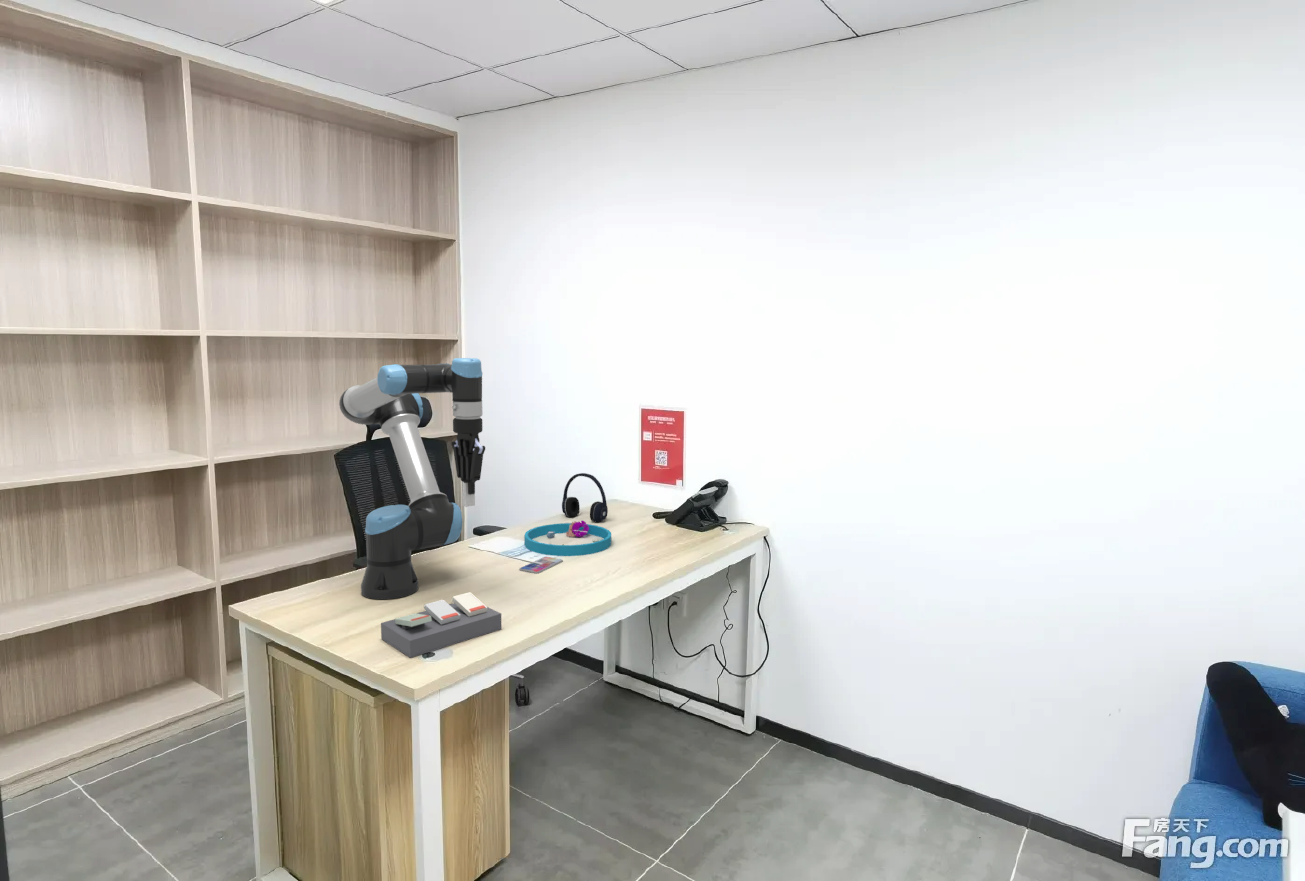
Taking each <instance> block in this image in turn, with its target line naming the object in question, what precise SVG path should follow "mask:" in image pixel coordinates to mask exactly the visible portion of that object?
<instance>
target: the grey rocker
mask: <svg viewBox="0 0 1305 881" xmlns="http://www.w3.org/2000/svg"><path fill="white" fill-rule="evenodd" d="M449 604H450V603H448V602H447V601H446V600H444V599H440V600H436V601H433V602H427V603H425V604H424V606H423V608H424V609H423V610H424V611H427V612H428V613H429V614H430V615H431V616H432V617H433V618H435V619H436V620H437V621H438V622H439V623H440V624H441V625H442V624H445V623H449V622H452V621H455V620H459V619H460V614H459V613H458V612H457V611H456V610H455V609H453V608H452V607H451V606H450V605H449Z"/></svg>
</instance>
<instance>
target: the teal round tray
mask: <svg viewBox="0 0 1305 881" xmlns="http://www.w3.org/2000/svg"><path fill="white" fill-rule="evenodd" d="M557 534H565V535H566V536H567V537H568V538H580V537H581V538H582V537H584V536H586V535H591V536H596V537H599V538H601V539H600V540H599V539H596V538H594V539H592V542H589V543H581V544H551V543H546V542H539V541H536V540H534V539H536V538H540V537H544V536H547V538H548V539H553V538H554V537H555V535H557ZM523 538H524V539H523V540H524V547H525V548H526V549H527V550H529V551H530V552H533V553H536V554H539V555H540V554H541V555H546V556H554V557H555V556H556V557H576V556H580V557H581V556H587V555H593V554H597V553H601V552H603V551H605V550H608V549H609V548H610V547H611V545H612V532H611V531H610V529H607V528H605V527H603V526H598V525H595V524H589V523H587V522H586V521H584V520H580V521H577V520H576V521H572V522H565V523H550V524H544V525H539V526H536V527H533V528H530V529H528V530H526V532H525V533H524V537H523Z"/></svg>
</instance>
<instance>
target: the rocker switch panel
mask: <svg viewBox="0 0 1305 881" xmlns="http://www.w3.org/2000/svg"><path fill="white" fill-rule="evenodd" d="M448 604H449V605H450V606H451V607H452V608H453V609H455V610H456V611H457V612H458V613H459V614H460V619H459V620H455V621H452V622H449V623H445V624H442V625H441V624H440V623H439V622H438V621H437V620H436V619H435V618H433V617H432V616H431V615H430V614H429V613H428V612H427V611H426V610H423V611H420V612H417V613H415V614H422V615H429V616H431V619H432V621H430V622H426V623H423V624H419V625H416V626H412V627H411V626H405V625H399V624H395V619H396V618H394V619H390V620H386V621H384V622H381V623H380V634H381V635H380V637H381V638H380V640H382V641H383V642H385V643H387V645H390V646H392V648H394V649H396V650H398V651H399V652H400V653H403V655H405V656H406V657H408V658H411V659H412V658H414V657H418V656H421V655H424V654H427V653H430V652H434V651H436V650H441V649H444V648H447V647H449V646H453V645H455V644H459V643H462V642H465V641H468V640H472V639H474V638H477V637H478V638H479V637H481V636H483V635H487V634H490V633H493V632H496V631H500V630H502V613H501V612H499V611H497V610H495V609H493V608H491V607H488V606H487V605H485V606H486V607H487V612H484V613H481V614H477V615H474V616H470V617H469V616H468V615H467V614H465V613H464V612H463V611H462V610H461V609H460V608H459V607H458V606H457V605H456V604H455V603H454V602H452V603H448Z"/></svg>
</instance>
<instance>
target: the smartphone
mask: <svg viewBox="0 0 1305 881" xmlns="http://www.w3.org/2000/svg"><path fill="white" fill-rule="evenodd" d="M563 562H564V560H563V559H560V558H555V557H550V556H543V557H540V558H539V559H536V560H535V561H532V562H530V563H527V564H525V565H523V566H521V567H519V569H518V571H520V572H524V573H529V574H534V575H535V574H536V575H538V574H540V573H543V572H545V571H547V570H549V569H551V568H553V567H555V566H557V565H560V564H561V563H563Z"/></svg>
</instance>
